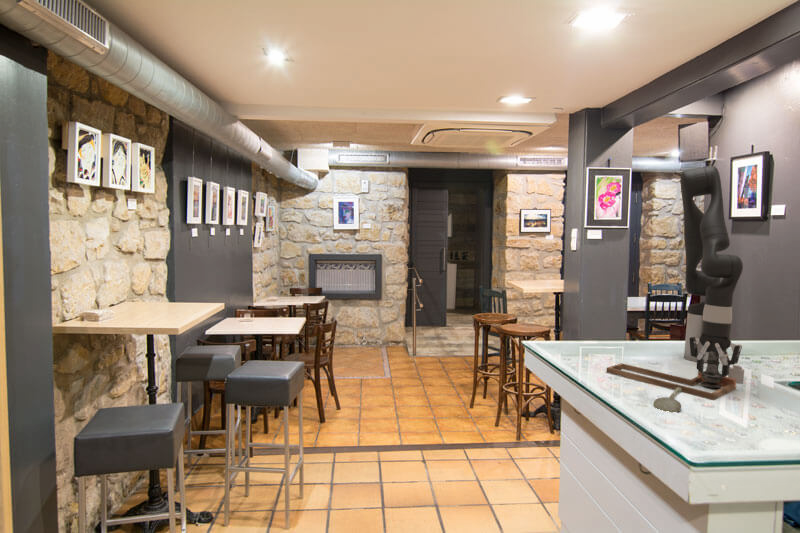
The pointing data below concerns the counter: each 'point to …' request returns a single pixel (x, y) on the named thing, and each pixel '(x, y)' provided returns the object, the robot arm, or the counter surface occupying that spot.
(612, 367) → the track
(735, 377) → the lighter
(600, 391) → the counter surface
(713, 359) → the salt shaker
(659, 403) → the soupspoon
